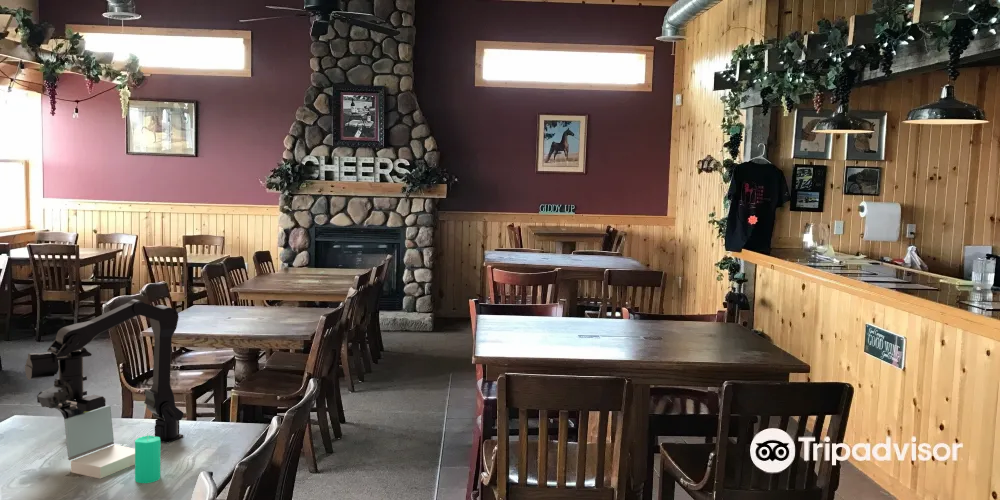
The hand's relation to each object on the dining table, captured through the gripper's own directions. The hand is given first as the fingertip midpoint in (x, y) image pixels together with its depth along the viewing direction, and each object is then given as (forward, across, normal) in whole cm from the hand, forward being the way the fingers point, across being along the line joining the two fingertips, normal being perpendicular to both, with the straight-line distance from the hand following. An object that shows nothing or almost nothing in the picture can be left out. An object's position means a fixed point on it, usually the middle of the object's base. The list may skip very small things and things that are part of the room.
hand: (71, 430), depth 209 cm
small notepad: (+8, +13, 0) cm, 15 cm away
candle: (+8, +28, -2) cm, 30 cm away
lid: (-1, +7, 0) cm, 7 cm away
